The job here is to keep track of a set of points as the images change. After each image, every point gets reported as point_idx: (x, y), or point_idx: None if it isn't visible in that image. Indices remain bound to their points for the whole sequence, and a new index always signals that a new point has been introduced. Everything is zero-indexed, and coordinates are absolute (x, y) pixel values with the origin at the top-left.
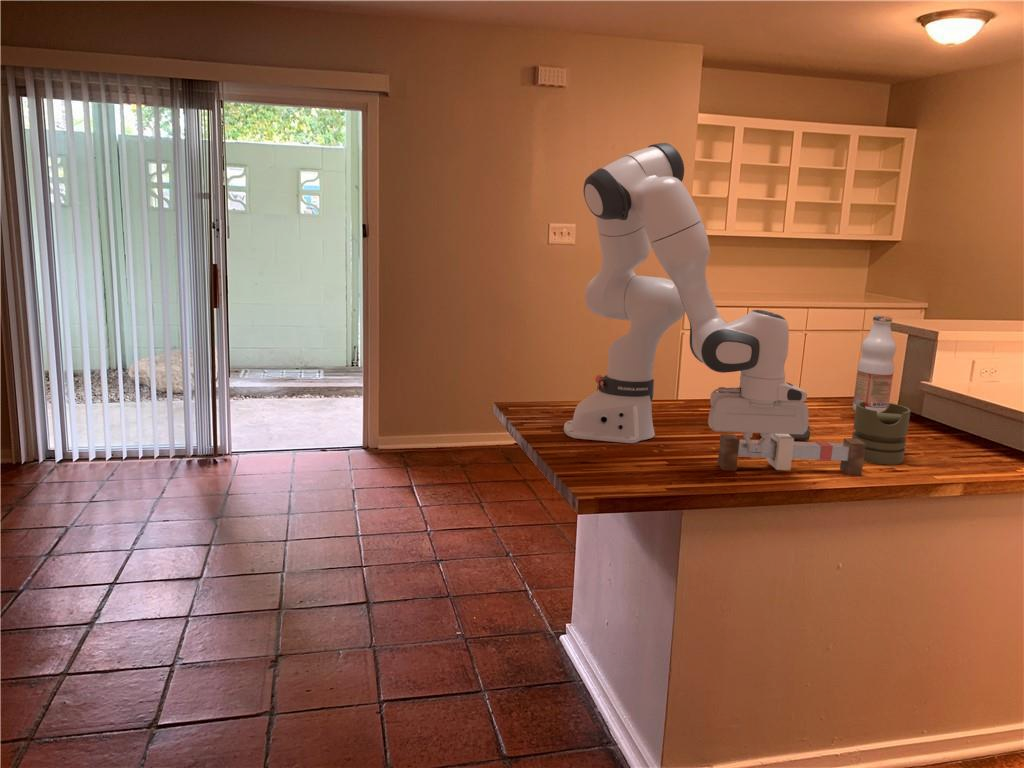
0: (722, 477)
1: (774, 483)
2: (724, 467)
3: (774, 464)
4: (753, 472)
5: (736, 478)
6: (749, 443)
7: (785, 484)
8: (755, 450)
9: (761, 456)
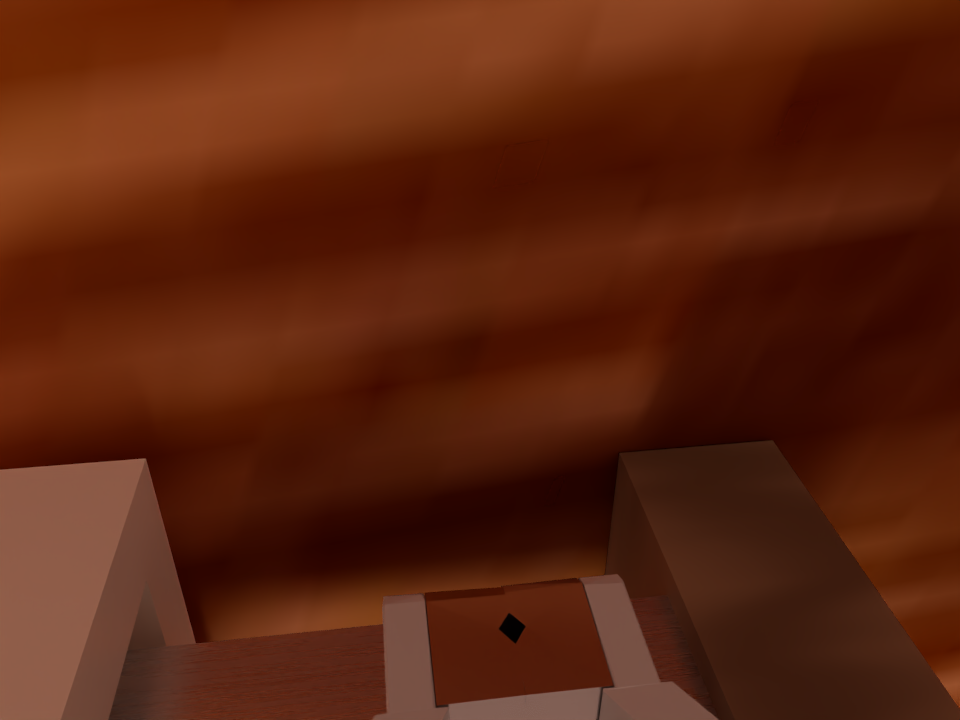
0: (903, 196)
1: (245, 38)
2: (769, 461)
3: (156, 557)
4: (431, 437)
5: (738, 185)
6: (682, 708)
7: (67, 10)
8: (516, 612)
9: (336, 639)
